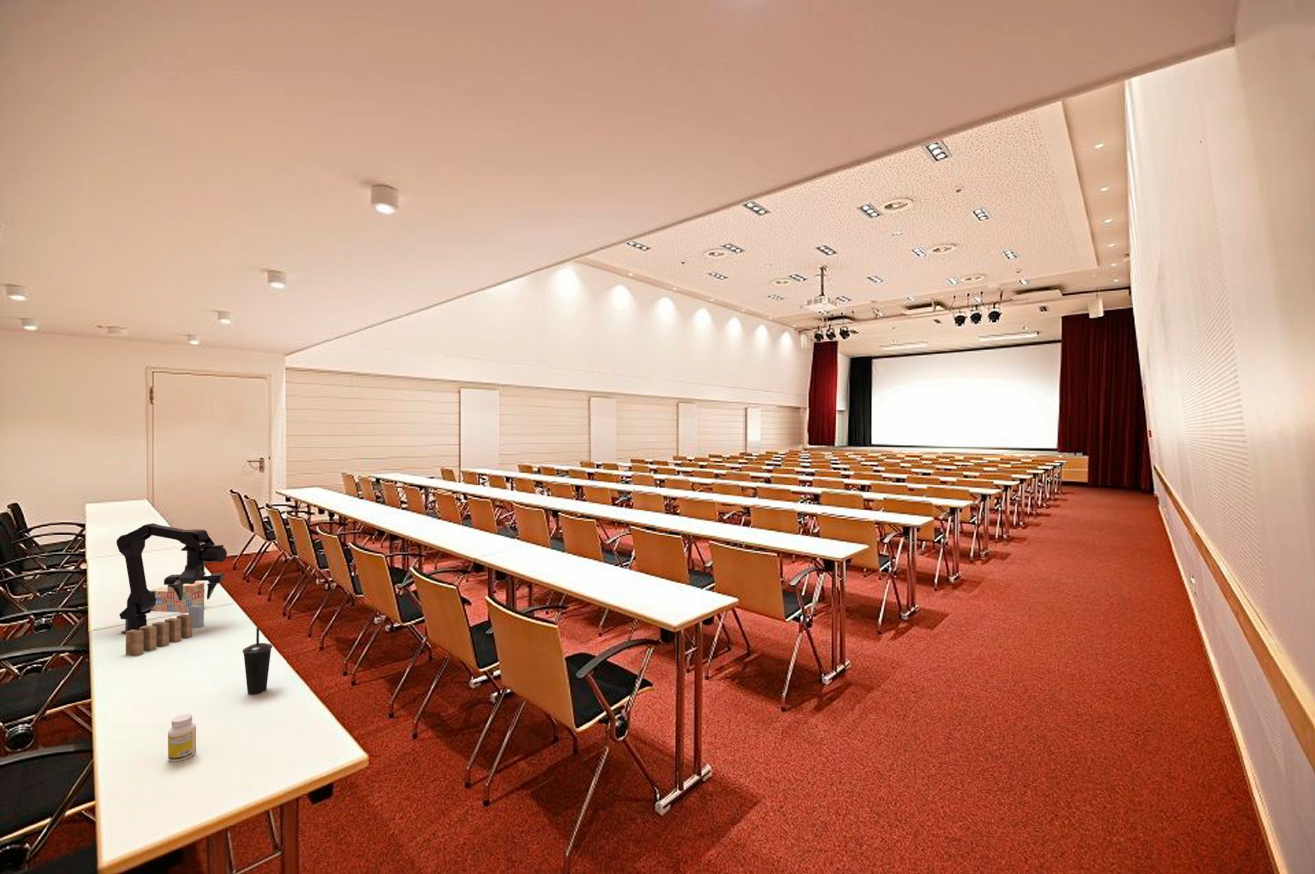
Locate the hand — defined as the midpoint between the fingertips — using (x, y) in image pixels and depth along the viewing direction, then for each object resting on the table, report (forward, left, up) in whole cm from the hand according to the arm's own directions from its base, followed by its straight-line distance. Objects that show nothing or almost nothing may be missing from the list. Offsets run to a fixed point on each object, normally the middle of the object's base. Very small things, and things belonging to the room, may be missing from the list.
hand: (194, 599), depth 231 cm
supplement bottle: (+84, -74, -13) cm, 113 cm away
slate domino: (-4, +4, -13) cm, 14 cm away
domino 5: (+3, -7, -13) cm, 15 cm away
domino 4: (+3, -11, -13) cm, 17 cm away
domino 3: (+3, -16, -13) cm, 20 cm away
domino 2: (+3, -20, -13) cm, 24 cm away
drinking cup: (+71, -40, -13) cm, 83 cm away
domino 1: (+3, -25, -13) cm, 28 cm away
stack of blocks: (-34, +20, -13) cm, 42 cm away
